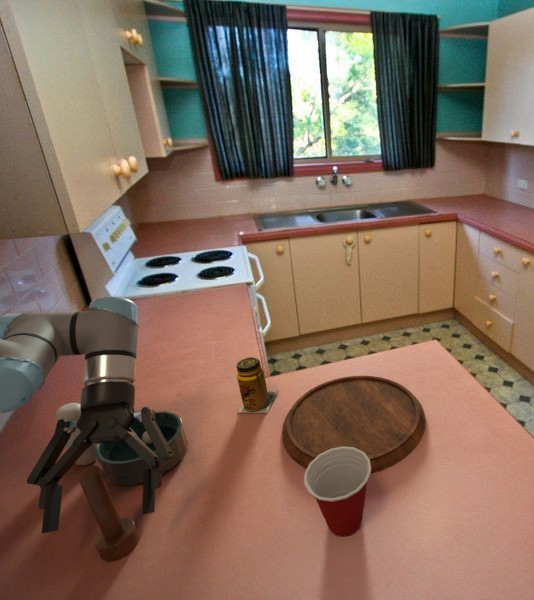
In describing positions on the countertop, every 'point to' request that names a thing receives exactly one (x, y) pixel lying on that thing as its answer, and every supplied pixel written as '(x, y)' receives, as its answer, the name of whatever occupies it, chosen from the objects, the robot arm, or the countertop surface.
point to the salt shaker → (76, 432)
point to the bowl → (127, 463)
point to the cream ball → (146, 438)
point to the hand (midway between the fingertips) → (100, 522)
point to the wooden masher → (107, 517)
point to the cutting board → (355, 421)
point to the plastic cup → (340, 487)
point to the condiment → (253, 387)
